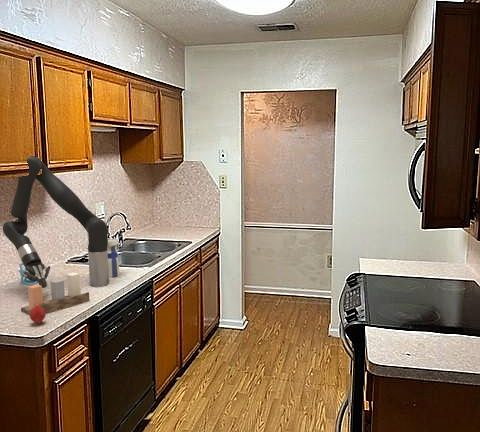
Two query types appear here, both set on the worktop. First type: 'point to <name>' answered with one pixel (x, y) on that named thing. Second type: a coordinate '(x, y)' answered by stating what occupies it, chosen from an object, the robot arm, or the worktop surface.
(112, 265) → the water bottle
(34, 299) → the orange block
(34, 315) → the onion
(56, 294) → the grey rectangular block
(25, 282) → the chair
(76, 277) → the cream rectangular block
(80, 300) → the wooden divided tray
